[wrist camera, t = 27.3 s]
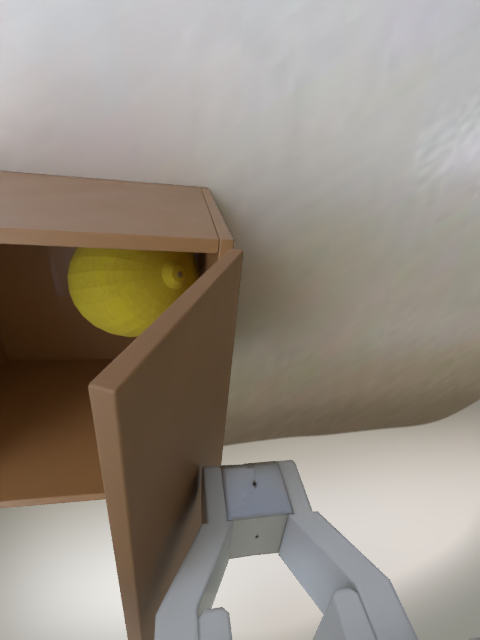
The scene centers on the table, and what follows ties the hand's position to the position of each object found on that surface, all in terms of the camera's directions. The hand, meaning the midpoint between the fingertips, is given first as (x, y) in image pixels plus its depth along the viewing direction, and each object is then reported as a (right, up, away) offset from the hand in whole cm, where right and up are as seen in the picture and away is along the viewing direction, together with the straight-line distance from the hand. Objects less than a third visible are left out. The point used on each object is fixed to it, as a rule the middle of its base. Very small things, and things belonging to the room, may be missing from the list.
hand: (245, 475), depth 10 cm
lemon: (-8, +7, +9) cm, 14 cm away
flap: (-2, 0, -1) cm, 2 cm away
